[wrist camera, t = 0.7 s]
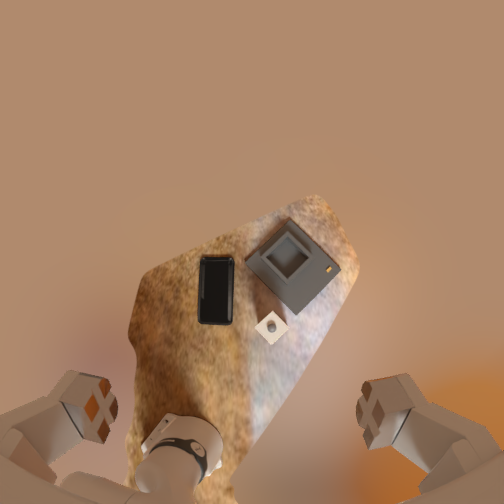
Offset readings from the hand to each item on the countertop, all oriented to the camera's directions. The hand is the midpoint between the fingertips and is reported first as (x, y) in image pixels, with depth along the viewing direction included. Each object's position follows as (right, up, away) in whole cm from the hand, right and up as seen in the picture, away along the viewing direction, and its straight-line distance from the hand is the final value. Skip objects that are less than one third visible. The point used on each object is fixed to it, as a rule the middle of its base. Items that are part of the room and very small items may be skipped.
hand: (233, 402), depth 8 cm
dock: (+10, +1, +54) cm, 55 cm away
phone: (-7, -4, +55) cm, 56 cm away
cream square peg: (+5, -11, +52) cm, 54 cm away
